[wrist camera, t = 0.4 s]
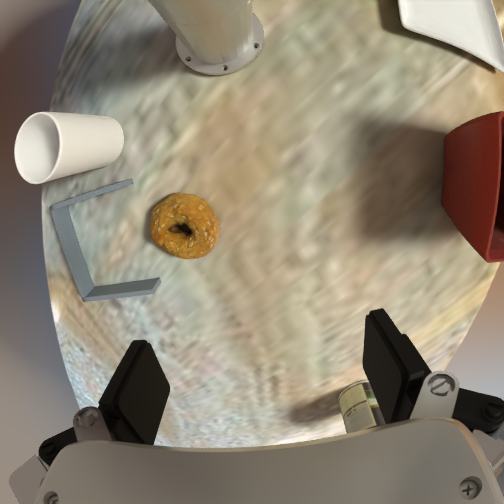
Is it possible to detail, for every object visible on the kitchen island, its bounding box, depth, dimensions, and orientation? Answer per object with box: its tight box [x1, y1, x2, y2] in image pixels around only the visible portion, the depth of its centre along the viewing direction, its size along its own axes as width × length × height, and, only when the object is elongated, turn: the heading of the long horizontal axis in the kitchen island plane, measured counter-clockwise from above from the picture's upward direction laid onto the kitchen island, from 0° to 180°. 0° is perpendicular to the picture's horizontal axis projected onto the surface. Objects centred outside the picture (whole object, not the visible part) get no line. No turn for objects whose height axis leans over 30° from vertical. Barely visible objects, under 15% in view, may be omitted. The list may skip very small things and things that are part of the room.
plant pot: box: [441, 111, 504, 263], centre depth 30 cm, size 19×19×17 cm
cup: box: [15, 112, 124, 184], centre depth 30 cm, size 8×8×16 cm
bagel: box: [150, 193, 220, 259], centre depth 40 cm, size 10×11×5 cm
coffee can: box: [338, 380, 386, 434], centre depth 50 cm, size 10×10×14 cm
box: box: [50, 179, 161, 302], centre depth 41 cm, size 18×15×4 cm
